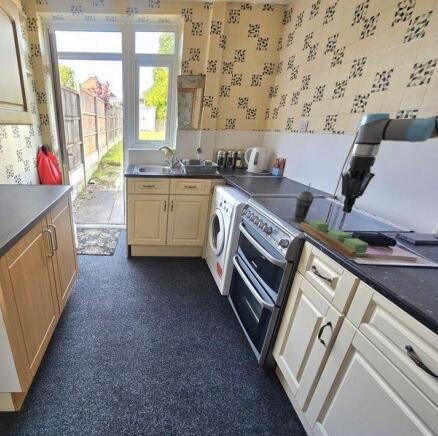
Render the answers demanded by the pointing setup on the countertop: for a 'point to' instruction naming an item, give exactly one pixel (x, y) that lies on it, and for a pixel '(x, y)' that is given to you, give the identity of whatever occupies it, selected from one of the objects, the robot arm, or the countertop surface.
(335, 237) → the block middle
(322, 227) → the block
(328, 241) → the oak rail
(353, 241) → the block
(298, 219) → the beverage cup
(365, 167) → the robot arm
